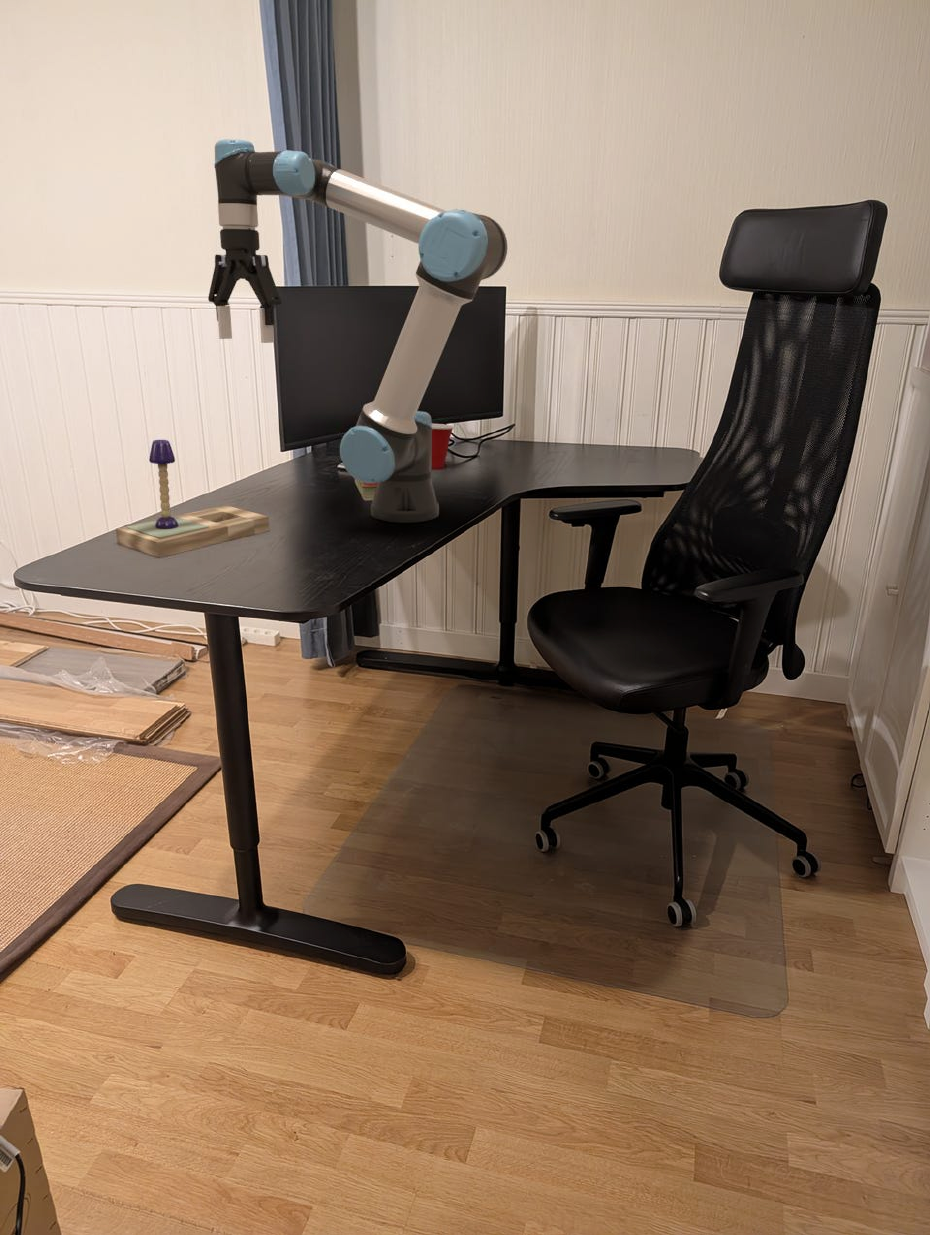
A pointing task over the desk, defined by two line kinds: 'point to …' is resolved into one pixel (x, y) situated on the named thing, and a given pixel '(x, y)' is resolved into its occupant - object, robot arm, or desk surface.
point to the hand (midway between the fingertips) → (246, 340)
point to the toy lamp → (163, 480)
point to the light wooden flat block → (193, 531)
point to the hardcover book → (366, 489)
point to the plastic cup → (440, 444)
